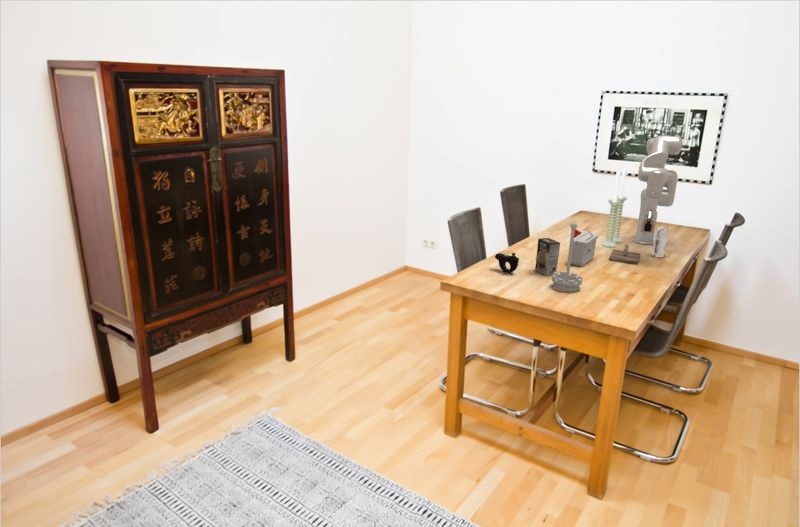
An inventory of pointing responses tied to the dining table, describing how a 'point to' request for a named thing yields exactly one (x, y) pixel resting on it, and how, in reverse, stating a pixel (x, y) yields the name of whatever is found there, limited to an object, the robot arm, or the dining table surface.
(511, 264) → the controller
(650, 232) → the bead
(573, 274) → the flag stand
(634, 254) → the brown peg stand
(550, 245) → the coffee box
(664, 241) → the beer glass
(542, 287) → the dining table surface
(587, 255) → the stereo radio cassette player
